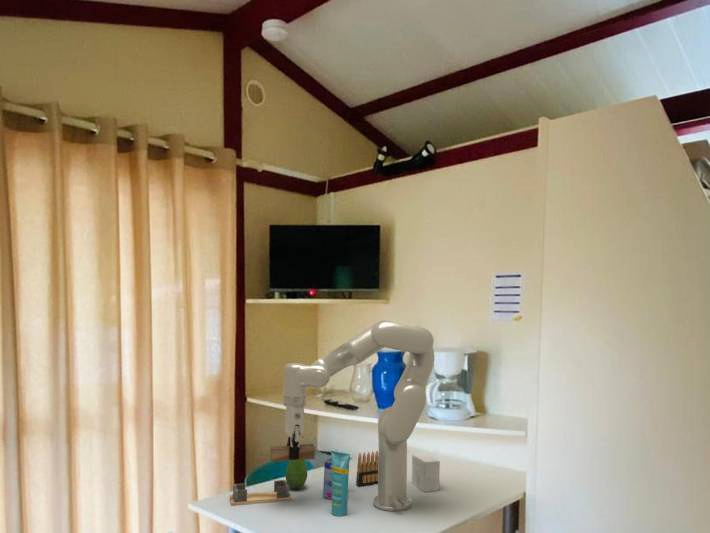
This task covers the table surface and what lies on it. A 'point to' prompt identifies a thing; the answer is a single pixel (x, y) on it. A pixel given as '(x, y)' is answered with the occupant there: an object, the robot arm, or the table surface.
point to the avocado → (296, 473)
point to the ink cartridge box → (328, 479)
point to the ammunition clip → (367, 470)
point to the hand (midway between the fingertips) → (292, 456)
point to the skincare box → (425, 472)
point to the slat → (283, 452)
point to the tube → (339, 482)
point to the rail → (260, 494)
